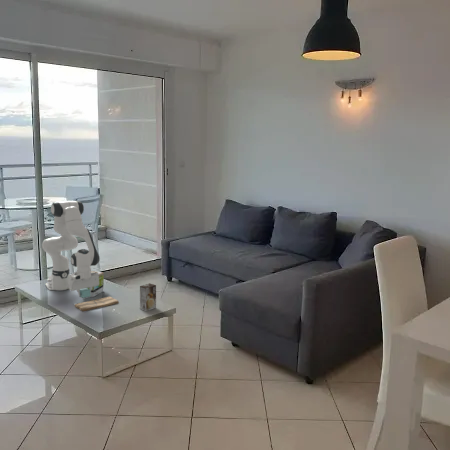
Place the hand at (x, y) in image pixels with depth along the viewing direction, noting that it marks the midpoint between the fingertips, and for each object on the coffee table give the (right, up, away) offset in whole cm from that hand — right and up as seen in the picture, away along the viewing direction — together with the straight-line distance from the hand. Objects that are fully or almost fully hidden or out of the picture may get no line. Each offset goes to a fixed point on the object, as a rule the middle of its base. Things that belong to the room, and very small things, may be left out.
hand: (84, 294), depth 300 cm
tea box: (-3, -4, +30) cm, 31 cm away
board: (+6, -8, +8) cm, 13 cm away
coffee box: (+41, -10, +4) cm, 43 cm away
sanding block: (0, -2, 0) cm, 2 cm away
